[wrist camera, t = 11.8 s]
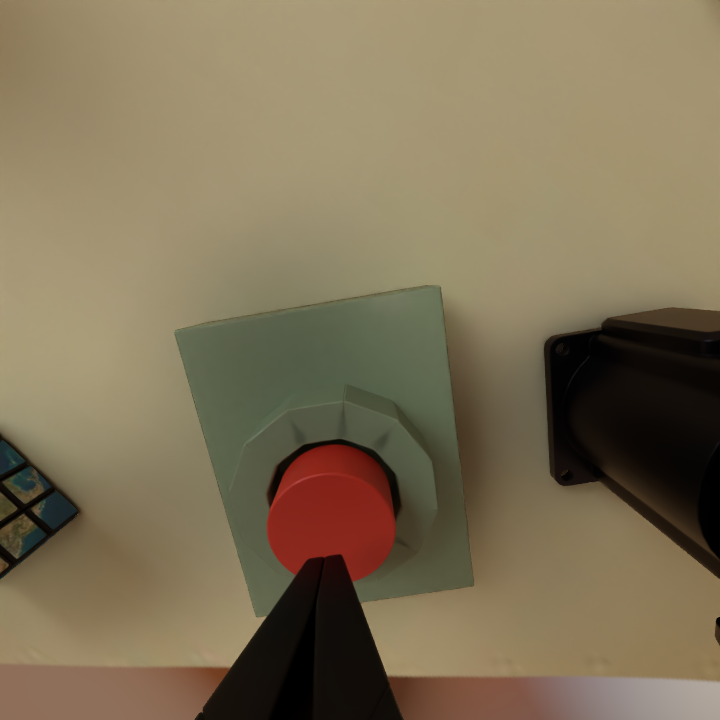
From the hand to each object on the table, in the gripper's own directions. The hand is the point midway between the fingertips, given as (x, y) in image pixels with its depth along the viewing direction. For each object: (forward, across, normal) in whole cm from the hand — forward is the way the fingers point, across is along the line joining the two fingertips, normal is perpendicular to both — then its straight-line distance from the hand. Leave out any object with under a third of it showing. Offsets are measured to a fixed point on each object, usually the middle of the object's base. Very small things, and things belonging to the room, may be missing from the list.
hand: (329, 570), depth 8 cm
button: (+3, 0, 0) cm, 3 cm away
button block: (+7, 0, 0) cm, 7 cm away
